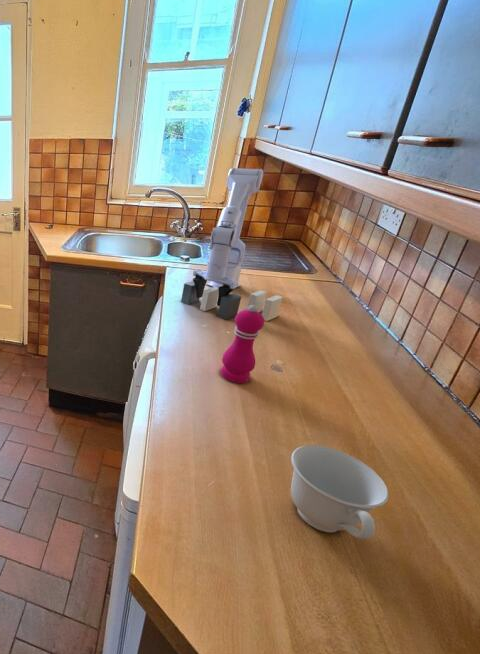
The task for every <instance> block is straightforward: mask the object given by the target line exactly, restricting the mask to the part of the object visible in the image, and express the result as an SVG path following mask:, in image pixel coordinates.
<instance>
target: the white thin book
mask: <svg viewBox="0 0 480 654" xmlns="http://www.w3.org/2000/svg"><path fill="white" fill-rule="evenodd" d="M218 296H219V289H218V288H217V287H212V286H211V287H210V288H207V289H204V291H203V296H202V297H201V301H200V306H199V310H201V311H203V312H207V311H209V310H212V309H215V308H217V301H218Z"/></svg>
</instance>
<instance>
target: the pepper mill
mask: <svg viewBox="0 0 480 654" xmlns="http://www.w3.org/2000/svg"><path fill="white" fill-rule="evenodd" d="M234 324H235V325H236V326H235V327H234V331H233V333H234V340H233V342H232V343H231V344H230V345H229V347H228V348H227V349H226V350H225V351H224V353H223V354H222V357H221V362H222V364H223V365H222V366H221V370H220V374H221V376H222V377H223V378H224V379H225V380H227V381H229V382H232V383H236V384H245V383H247V382H248V381H249V380H250V376H251V372H252V371H253V370H254V369H255V367H256V356H255V353H254V342H255V340H256V339H257V338H259V334H260V331H261V329H263V327H264V325H265V320H264V318H263V316H262V313H261V312H257V307H256V306H255V305H250V306H249V307H248V310H247V309H243V310H240V311H238V312H237V315H236V316H234Z"/></svg>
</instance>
